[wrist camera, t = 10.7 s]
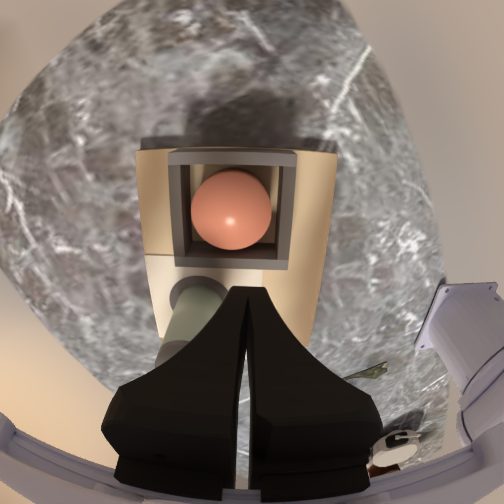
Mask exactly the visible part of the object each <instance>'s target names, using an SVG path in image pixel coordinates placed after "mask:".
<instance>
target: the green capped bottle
mask: <svg viewBox="0 0 504 504" xmlns="http://www.w3.org/2000/svg"><path fill="white" fill-rule="evenodd" d="M222 302H223V301H222V299H221V297H220V295H219V294H218V293H217V292H216V291H215V290H214V289H212V288H210V287H208V286H204V285H192V286H189V287H187V288H185V289H184V290H183V291H182V292H181V293H180V295H179V298H178V300H177V303H176V306H175V308H174V311H173V314H172V316H171V319H170V322H169V325H168V327H167V330H166V333H165V336H164V338H163V341H162V344H161V347H160V350H159V353H158V355H157V358H156V361H155V368H156V367H158V366H159V365H161V364H162V363H164V362H165V361H167V360H168V359H170V358H171V357H172V356H174V355H175V354H176V353H177V352H178V351H180V350H181V349H182V348H183V347H184V346H186V345H187V344H188V343H189V342H190V341H191V340H192V339H193V338H194V337H195V336H196V335H197V334H198V333H199V332H200V331H201V330H202V328H203V327H204V326H205V325H206V324H207V322H208V321H209V320H210V319H211V318H212V316H213V315H214V314H215V312H216V311H217V309H218V308H219V306H220V305H221V304H222Z"/></svg>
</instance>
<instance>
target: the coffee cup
mask: <svg viewBox="0 0 504 504" xmlns="http://www.w3.org/2000/svg"><path fill="white" fill-rule="evenodd" d="M367 471H368V472H369V476H370V478H372V477H377V476H381V475H385V474H389V473H393V472H396V471H400V468H399V466H398V464H397V463H396V464H393V465H390V466H386V467H378V466H376V465H374V464H372V465H371V466H370V468H368V469H367Z"/></svg>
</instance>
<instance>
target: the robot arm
mask: <svg viewBox="0 0 504 504" xmlns="http://www.w3.org/2000/svg"><path fill="white" fill-rule="evenodd" d="M497 287H498V284H497V283H496V282H487V283H465V284H443V285H441V286H440V287H439V288H438V290H437V293H436V296H435V298H434V301H433V304H432V306H431V309H430V311H429V313H428V316H427V318H426V321H425V323H424V325H423V327H422V330H421V332H420V334H419V336H418V339H417V341H416V343H415V345H414V348H415V350H422V349H428V348H435V349H436V351H437V353H438V354H439V356H440V357H441V359H442V361H443V362H444V364H445V366H446V368H447V369H448V371H449V373H450V374H451V376H452V378H453V380H454V381H455V383H456V385H457V387H458V389H459V390H460V392H461V394H462V397H461V398H460V399H459V400H458V403H459V405H460V406H461V410H460V411H459V412H458V414H457V423H456V428H457V434H458V437H459V440H460V442H461V444H462V446H463V448H462V449H459V450H456V451H454V452H452V453H449V454H447V455H444V456H442V457H439V458H436V459H434V460H431V461H428V462H426V463H422V464H419V465H416V466H413V467H410V468H407V469H403V470H400V471H396V472H393V473H389V474H385V475H381V476H377V477H372V478H369V475H368V471H367V466H366V465H367V464H368V463H369V457H368V453H367V451H368V450H369V448H370V447H371V446H372V445H373V444H374V442H375V441H376V440H377V439H378V437H379V436H380V434H381V432H382V431H383V424H382V421H381V418H380V415H379V412H378V410H377V408H376V406H375V404H374V402H373V400H372V398H371V396H370V395H369V394H367V393H365V392H363V391H362V390H360V389H358V388H356V387H354V386H353V385H351V384H349V383H347V382H346V381H344V380H343V379H341V378H340V377H339V376H337V375H336V374H334V373H333V372H332V371H330V370H329V369H328V368H327V367H325V366H324V365H323V364H322V363H321V362H319V361H318V360H317V359H316V358H315V357H314V356H313V355H312V354H311V353H310V352H309V351H308V350H307V349H306V348H305V347H304V346H303V345H302V344H301V343H300V342H299V340H298V339H297V338H296V337H295V336H294V334H293V333H292V332H291V330H290V329H289V328H288V326H287V325H286V324H285V322H284V321H283V319H282V318H281V316H280V314H279V313H278V311H277V309H276V308H275V306H274V304H273V302H272V300H271V298H270V296H269V294H268V291H267V289H266V288H265V287H254V286H232V287H231V288H230V289H229V291H228V293H227V295H226V297H225V299H224V300H223V302H222V304H221V305H220V306H219V308H218V309H217V311H216V312H215V314H214V315H213V316H212V318H211V319H210V320H209V321H208V322H207V324H206V325H205V326H204V327H203V328H202V330H201V331H200V332H199V333H198V334H197V335H196V336H195V337H194V338H193V339H192V340H191V341H190V342H189V343H188V344H187V345H186V346H184V347H183V348H182V349H181V350H180V351H178V352H177V353H176V354H175V355H174V356H172V357H171V358H170V359H168V360H167V361H165V362H164V363H162V364H161V365H159V366H158V367H156V368H155V369H153V370H152V371H150V372H148V373H147V374H145V375H143V376H141V377H139V378H137V379H135V380H133V381H131V382H129V383H127V384H125V385H122V386H120V387H119V388H118V390H117V392H116V394H115V395H114V397H113V398H112V401H111V402H110V404H109V407H108V409H107V412H106V414H105V417H104V420H103V422H102V425H101V431H102V433H103V434H104V436H105V438H106V439H107V441H108V442H109V443H110V445H111V446H112V447H113V448H114V450H115V451H116V452H117V453H118V454H119V458H118V462H117V466H116V469H113V468H109V467H106V466H103V465H100V464H97V463H94V462H91V461H88V460H85V459H83V458H80V457H77V456H75V455H72V454H70V453H67V452H65V451H63V450H60V449H58V448H55V447H53V446H51V445H49V444H46V443H45V442H42V441H40V440H38V439H36V438H34V437H32V436H30V435H28V434H26V433H25V432H23V431H21V430H19V429H17V428H16V427H15V425H14V424H13V423H12V422H11V421H10V420H9V419H8V418H7V417H6V416H5V415H4V414H2V413H1V412H0V480H1V481H2V482H3V483H5V484H6V485H7V486H9V487H10V488H12V489H13V490H15V491H16V492H18V493H19V494H21V495H22V496H24V497H26V498H27V499H29V500H30V501H32V502H34V503H35V504H473V503H475V502H477V501H478V500H480V499H482V498H483V497H485V496H486V495H488V494H489V493H491V492H492V491H494V490H495V489H497V488H498V487H500V486H501V485H502V484H504V300H503V299H502V298H501V297H500V296H499V295H498V294H497V293H496V289H497ZM446 289H447V290H446ZM246 350H247V363H248V376H249V388H250V439H249V476H248V490H242V489H235V481H236V479H235V478H236V453H237V428H238V406H239V394H240V387H241V381H242V374H243V368H244V361H245V354H246ZM144 499H145V500H144Z"/></svg>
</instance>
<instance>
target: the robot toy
mask: <svg viewBox="0 0 504 504" xmlns="http://www.w3.org/2000/svg"><path fill="white" fill-rule="evenodd" d="M420 436H421V434H417V433H416V432H415V431H412V430H403V431H402V430H394V431H392V432H390V433H389V434H388V435H387V436H384V437H382V438H381V439H379V440H378V441H377V442H376V443H375V444H374V446H373V447H372V449H370V448H369V450H368V451H367V453H368V457H369V463H368V464H367V465H366V466H367V469H368V468H370V466H371V465H372V463H373V464H374V465H376V466H378V467H386V466H390V465H393V464H396V463H400V462H403V461H405V460H407V459H412V458H413V457H411V456H413V455H414V453H415V452H416V451H417V449H418V448H419V446H420V445H419V440H418V437H420Z"/></svg>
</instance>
